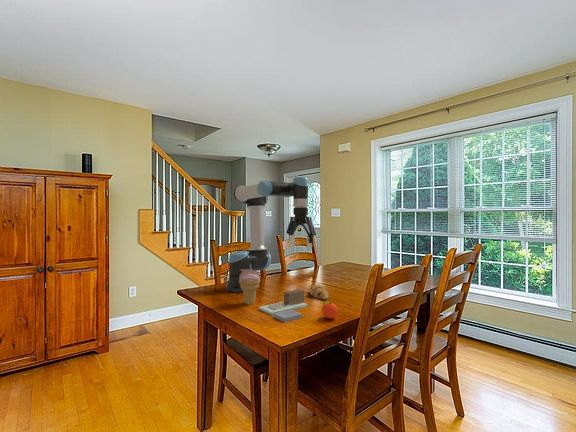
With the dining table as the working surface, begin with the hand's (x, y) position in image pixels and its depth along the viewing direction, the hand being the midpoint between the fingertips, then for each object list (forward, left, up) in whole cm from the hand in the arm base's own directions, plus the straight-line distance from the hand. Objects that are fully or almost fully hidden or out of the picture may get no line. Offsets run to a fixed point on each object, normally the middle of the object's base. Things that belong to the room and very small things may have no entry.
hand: (300, 248), depth 157 cm
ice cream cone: (-17, -20, -29) cm, 39 cm away
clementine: (+24, -4, -29) cm, 38 cm away
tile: (+12, -13, -28) cm, 33 cm away
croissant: (-6, +19, -29) cm, 35 cm away
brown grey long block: (0, -9, -27) cm, 29 cm away
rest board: (0, -11, -29) cm, 31 cm away
